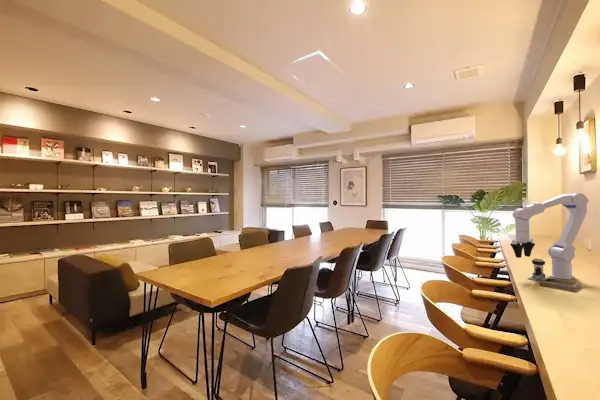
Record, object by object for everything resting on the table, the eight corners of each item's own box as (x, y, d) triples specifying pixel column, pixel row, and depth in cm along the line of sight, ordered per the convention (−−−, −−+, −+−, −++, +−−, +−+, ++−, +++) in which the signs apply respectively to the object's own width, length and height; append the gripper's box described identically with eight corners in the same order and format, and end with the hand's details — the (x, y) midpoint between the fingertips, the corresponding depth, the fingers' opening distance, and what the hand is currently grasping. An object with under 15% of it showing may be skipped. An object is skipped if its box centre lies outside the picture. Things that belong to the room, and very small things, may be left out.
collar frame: (547, 281, 140) (547, 277, 140) (580, 287, 130) (580, 282, 130) (539, 285, 134) (539, 280, 134) (573, 291, 124) (573, 286, 124)
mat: (533, 276, 148) (533, 276, 148) (550, 279, 143) (550, 278, 143) (527, 279, 144) (527, 278, 144) (545, 282, 138) (545, 281, 138)
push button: (550, 279, 141) (550, 259, 142) (547, 281, 138) (547, 261, 138) (533, 276, 147) (533, 257, 147) (530, 278, 144) (530, 259, 144)
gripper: (522, 232, 142) (522, 259, 142) (539, 231, 148) (540, 257, 148) (507, 231, 149) (507, 257, 149) (524, 229, 154) (525, 254, 154)
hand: (522, 256), depth 149 cm, fingers open, 7 cm apart
